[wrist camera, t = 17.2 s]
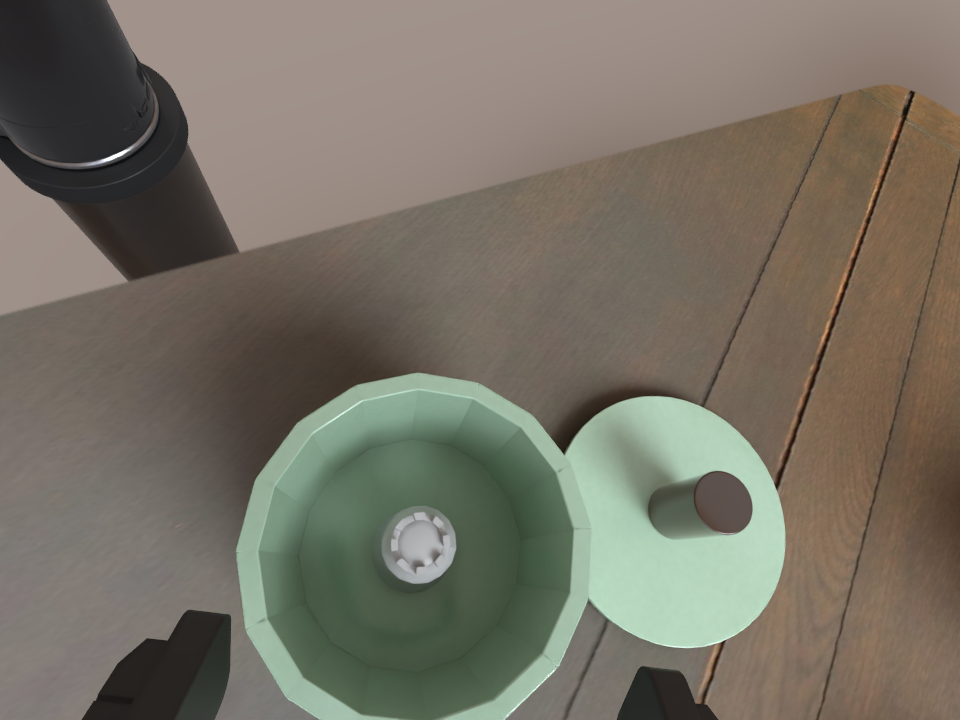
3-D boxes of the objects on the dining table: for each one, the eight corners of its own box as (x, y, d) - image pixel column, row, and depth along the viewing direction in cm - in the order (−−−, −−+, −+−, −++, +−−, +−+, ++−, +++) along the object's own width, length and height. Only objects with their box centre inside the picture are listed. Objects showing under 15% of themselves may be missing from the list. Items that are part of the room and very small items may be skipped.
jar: (258, 669, 28) (187, 723, 18) (319, 413, 33) (289, 349, 23) (517, 699, 29) (581, 764, 20) (539, 448, 34) (598, 402, 25)
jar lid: (540, 628, 31) (577, 644, 25) (558, 383, 36) (592, 346, 30) (782, 660, 32) (875, 681, 26) (766, 419, 37) (839, 390, 31)
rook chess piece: (456, 513, 32) (478, 496, 24) (446, 597, 30) (466, 606, 23) (379, 503, 31) (377, 482, 24) (364, 588, 30) (357, 593, 22)
